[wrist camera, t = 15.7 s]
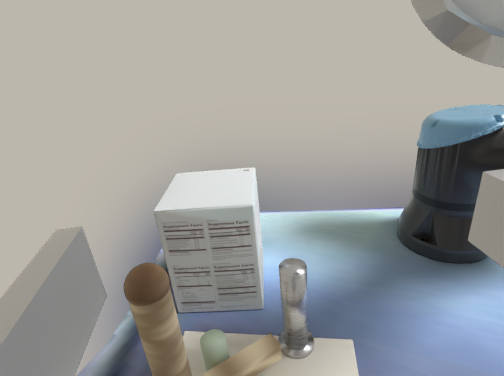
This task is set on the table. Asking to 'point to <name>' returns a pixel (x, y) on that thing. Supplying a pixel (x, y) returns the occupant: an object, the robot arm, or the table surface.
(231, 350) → the board
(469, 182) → the robot arm
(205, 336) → the post
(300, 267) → the hinge post
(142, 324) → the gate
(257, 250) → the supplement box
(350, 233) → the table surface
